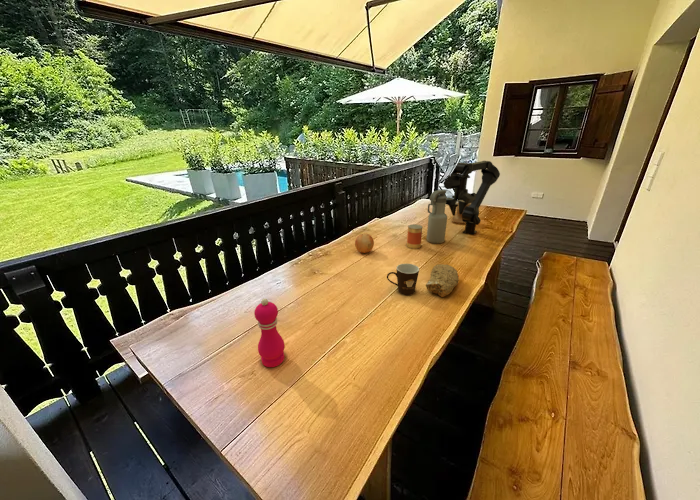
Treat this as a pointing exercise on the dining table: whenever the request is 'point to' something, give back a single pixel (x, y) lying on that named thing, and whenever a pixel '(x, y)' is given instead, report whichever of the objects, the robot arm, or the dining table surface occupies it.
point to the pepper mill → (269, 334)
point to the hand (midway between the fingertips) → (457, 214)
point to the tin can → (414, 236)
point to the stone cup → (459, 215)
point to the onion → (364, 243)
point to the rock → (442, 279)
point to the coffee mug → (406, 278)
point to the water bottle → (437, 217)
